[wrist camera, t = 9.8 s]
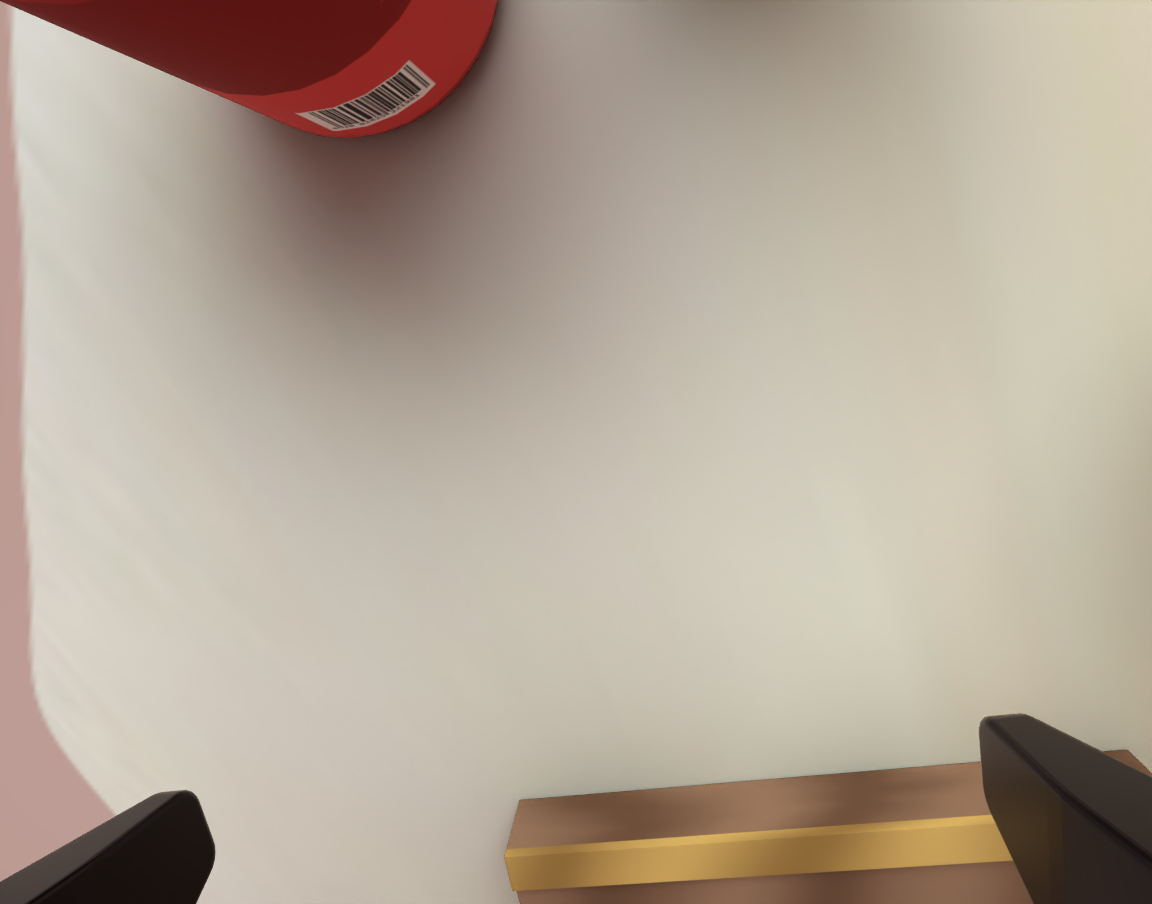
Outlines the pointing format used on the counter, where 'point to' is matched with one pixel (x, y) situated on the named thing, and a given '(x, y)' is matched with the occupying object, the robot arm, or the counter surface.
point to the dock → (772, 842)
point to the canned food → (296, 52)
